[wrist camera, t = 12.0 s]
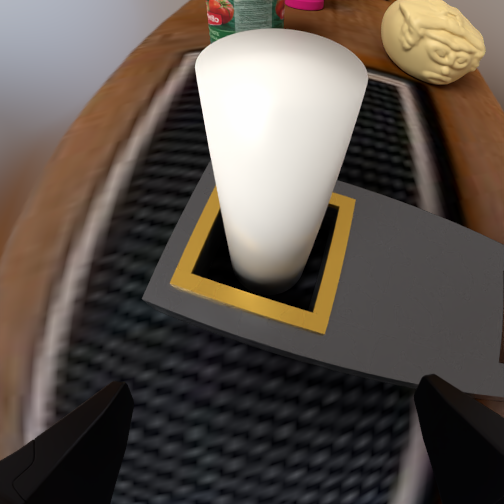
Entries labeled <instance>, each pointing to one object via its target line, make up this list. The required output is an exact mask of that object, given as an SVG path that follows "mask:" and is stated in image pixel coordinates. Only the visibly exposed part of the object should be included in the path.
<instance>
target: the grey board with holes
mask: <svg viewBox="0 0 504 504" xmlns="http://www.w3.org/2000/svg"><path fill="white" fill-rule="evenodd" d="M320 228H321V229H324V230H328V231H329V234H328V238H327V242H326V246H325V250H324V254H323V258H322V262H321V266H320V269H319V273H318V277H317V281H316V284H315V288H314V291H313V295H312V298H311V302H310V305H309V309H308V311H306V310H302V309H299V308H296V307H292V306H289V305H286V304H283V303H280V302H276V301H273V300H270V299H267V298H264V297H261V296H257V295H254V294H251V293H248V292H245V291H242V290H239V289H236V288H233V287H230V286H227V285H224V284H221V283H218V282H215V281H212V280H209V279H206V277H207V275H208V272H209V270H210V267H211V265H212V263H213V260H214V258H215V255H216V253H217V251H218V248H219V246H220V244H221V241H222V239H223V237H224V234H225V228H224V223H223V218H222V213H221V208H220V203H219V198H218V192H217V187H216V182H215V177H214V171H213V166H212V161H210V163H209V164H208V166H207V168H206V170H205V172H204V173H203V175H202V177H201V179H200V181H199V183H198V184H197V186H196V188H195V190H194V192H193V194H192V196H191V198H190V200H189V202H188V203H187V205H186V207H185V209H184V211H183V213H182V215H181V217H180V219H179V221H178V223H177V225H176V227H175V229H174V231H173V233H172V235H171V237H170V239H169V241H168V243H167V245H166V248H165V250H164V252H163V254H162V256H161V258H160V260H159V262H158V264H157V267H156V269H155V271H154V273H153V275H152V278H151V280H150V282H149V284H148V286H147V289H146V291H145V293H144V295H143V298H142V299H143V300H144V301H145V302H146V303H148V304H149V305H150V306H151V307H153V308H154V309H155V310H157V311H159V312H161V313H163V314H166V315H168V316H171V317H173V318H176V319H178V320H181V321H184V322H186V323H189V324H191V325H194V326H197V327H199V328H202V329H205V330H207V331H210V332H213V333H216V334H218V335H221V336H224V337H227V338H230V339H233V340H235V341H238V342H241V343H244V344H247V345H250V346H253V347H256V348H259V349H262V350H266V351H269V352H272V353H275V354H278V355H282V356H285V357H288V358H292V359H295V360H298V361H302V362H305V363H309V364H312V365H316V366H320V367H323V368H327V369H331V370H334V371H338V372H342V373H346V374H350V375H354V376H358V377H362V378H367V379H371V380H375V381H380V382H384V383H389V384H394V385H399V386H404V387H409V388H414V389H417V387H418V385H419V382H420V380H421V378H422V377H423V376H424V375H429V374H436V375H437V376H439V377H441V378H442V379H444V380H445V381H447V382H448V383H450V384H451V385H453V386H455V387H456V388H458V389H459V390H461V391H462V392H464V393H465V394H467V395H469V396H470V397H472V398H477V399H485V400H494V401H504V364H503V363H499V356H500V347H501V337H502V323H503V292H504V245H503V244H501V243H499V242H497V241H494V240H492V239H490V238H488V237H486V236H484V235H482V234H479V233H477V232H475V231H473V230H470V229H468V228H466V227H464V226H461V225H459V224H457V223H454V222H452V221H449V220H447V219H445V218H442V217H440V216H437V215H435V214H432V213H430V212H427V211H425V210H422V209H419V208H417V207H414V206H412V205H409V204H406V203H403V202H401V201H398V200H395V199H392V198H390V197H387V196H384V195H381V194H378V193H375V192H372V191H369V190H366V189H363V188H360V187H357V186H354V185H351V184H348V183H345V182H341V181H338V180H337V181H336V184H335V186H334V189H333V192H332V195H331V198H330V201H329V204H328V206H327V209H326V212H325V215H324V217H323V220H322V223H321V226H320Z"/></svg>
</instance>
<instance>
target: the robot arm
mask: <svg viewBox="0 0 504 504" xmlns="http://www.w3.org/2000/svg"><path fill="white" fill-rule="evenodd" d="M414 401H415V405H416V409H417V413H418V418H419V422H420V427H421V432H422V436H423V440H424V443H425V446H426V449H427V452H428V455H429V459H430V462H431V465H432V468H433V472H434V475H435V479H436V482H437V486H438V489H439V493H440V497H441V501H442V504H504V418H503V417H501V416H500V415H498V414H497V413H495V412H494V411H492V410H490V409H489V408H487V407H486V406H484V405H483V404H481V403H479V402H478V401H476V400H475V399H473V398H472V397H470V396H469V395H467V394H465V393H464V392H462V391H461V390H459V389H458V388H456V387H455V386H453V385H451V384H450V383H448V382H447V381H445V380H444V379H442V378H441V377H439V376H437V375H436V374H429V375H424V376H423V377H422V378H421V380H420V382H419V385H418V387H417V389H416V391H415V394H414ZM133 408H134V401H133V398H132V395H131V393H130V390H129V387H128V385H127V384H126V383H125V382H120V381H113V382H111V383H110V384H108V385H107V386H106V387H104V388H103V389H102V390H100V391H99V392H98V393H96V394H95V395H94V396H92V397H91V398H90V399H88V400H87V401H86V402H84V403H83V404H82V405H80V406H79V407H77V408H76V409H75V410H73V411H72V412H71V413H69V414H68V415H67V416H65V417H64V418H62V419H61V420H60V421H58V422H57V423H56V424H54V425H53V426H51V427H50V428H49V429H47V430H46V431H45V432H43V433H42V434H40V435H39V436H38V437H36V438H35V440H32V441H30V442H29V443H28V444H26V445H25V446H23V447H22V448H20V449H19V450H17V451H16V452H14V453H13V454H11V455H9V456H7V457H6V458H4V459H2V460H0V504H110V502H111V499H112V495H113V491H114V488H115V484H116V481H117V477H118V474H119V470H120V467H121V463H122V460H123V457H124V453H125V450H126V446H127V441H128V435H129V429H130V424H131V419H132V413H133Z"/></svg>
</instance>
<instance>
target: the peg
mask: <svg viewBox="0 0 504 504" xmlns="http://www.w3.org/2000/svg"><path fill="white" fill-rule="evenodd" d="M195 70H196V77H197V83H198V88H199V94H200V100H201V106H202V111H203V117H204V123H205V128H206V134H207V139H208V145H209V150H210V155H211V161H212V166H213V171H214V177H215V182H216V187H217V192H218V198H219V203H220V208H221V213H222V218H223V223H224V228H225V233H226V238H227V243H228V248H229V253H230V258H231V262H232V267H233V271H234V274H235V276H236V278H237V279H238V281H239V282H240V283H241V284H242V285H243V286H244V287H245V288H247V289H248V290H250V291H252V292H254V293H257V294H261V295H276V294H280V293H283V292H285V291H287V290H289V289H290V288H292V287H293V286H294V285H295V284H296V283H297V282H298V280H299V279H300V277H301V275H302V273H303V270H304V268H305V265H306V263H307V260H308V257H309V255H310V252H311V250H312V247H313V244H314V242H315V239H316V236H317V234H318V231H319V228H320V226H321V223H322V220H323V217H324V215H325V212H326V209H327V206H328V204H329V201H330V198H331V195H332V192H333V189H334V186H335V184H336V181H337V178H338V175H339V172H340V169H341V166H342V163H343V160H344V157H345V154H346V151H347V148H348V145H349V142H350V139H351V135H352V132H353V129H354V126H355V123H356V120H357V116H358V113H359V110H360V106H361V103H362V100H363V96H364V93H365V90H366V86H367V82H368V74H367V71H366V68H365V66H364V65H363V63H362V62H361V61H360V59H359V58H358V57H357V56H356V55H355V54H353V53H352V52H351V51H350V50H348V49H347V48H345V47H343V46H342V45H340V44H338V43H336V42H334V41H332V40H330V39H327V38H325V37H322V36H319V35H315V34H312V33H308V32H303V31H298V30H290V29H256V30H248V31H243V32H239V33H235V34H232V35H229V36H226V37H223V38H221V39H219V40H217V41H215V42H213V43H212V44H210V45H209V46H208V47H206V48H205V49H204V50H203V51H202V52H201V53H200V55H199V56H198V58H197V60H196V64H195Z"/></svg>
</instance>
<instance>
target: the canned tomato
mask: <svg viewBox="0 0 504 504" xmlns="http://www.w3.org/2000/svg"><path fill="white" fill-rule="evenodd" d="M284 1H285V0H206V5H207V16H208V23H209V31H210V33H209V34H210V41H211V44H212V43H213V42H215V41H217V40H219V39H221V38H223V37H226V36H229V35H232V34H235V33H239V32H243V31H248V30H256V29H283V26H284Z"/></svg>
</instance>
